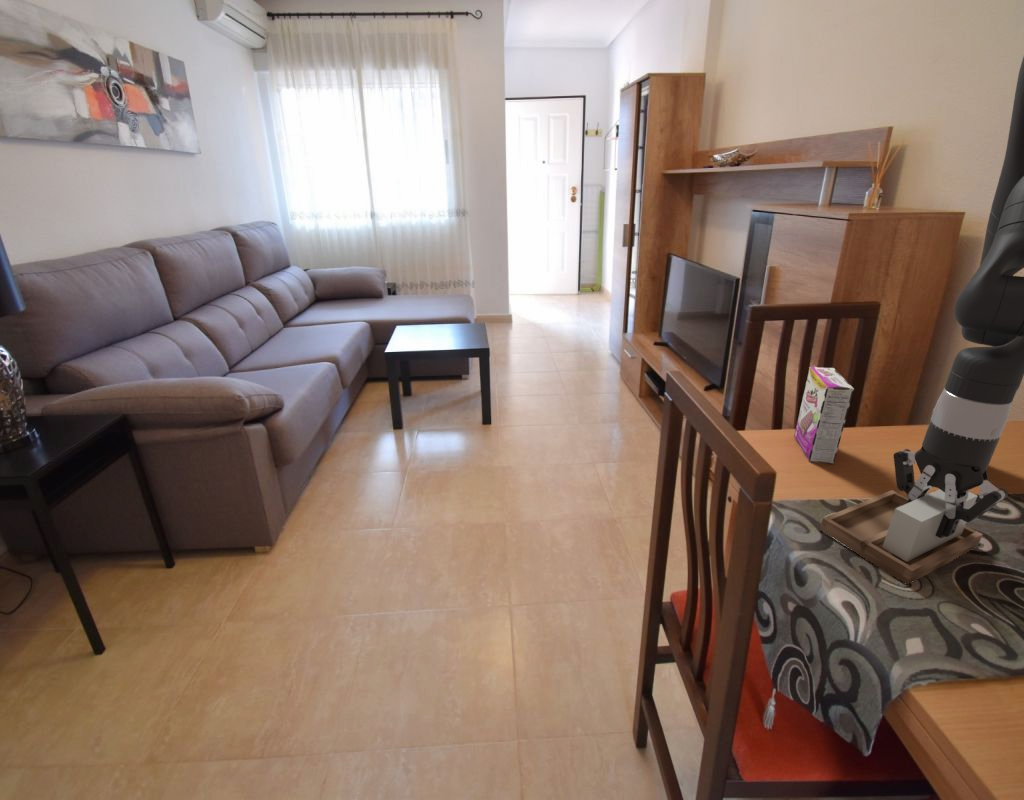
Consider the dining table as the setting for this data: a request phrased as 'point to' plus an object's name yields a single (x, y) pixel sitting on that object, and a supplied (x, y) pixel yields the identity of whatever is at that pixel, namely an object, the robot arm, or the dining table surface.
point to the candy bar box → (823, 414)
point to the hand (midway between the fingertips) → (926, 527)
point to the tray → (868, 531)
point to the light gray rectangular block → (920, 525)
